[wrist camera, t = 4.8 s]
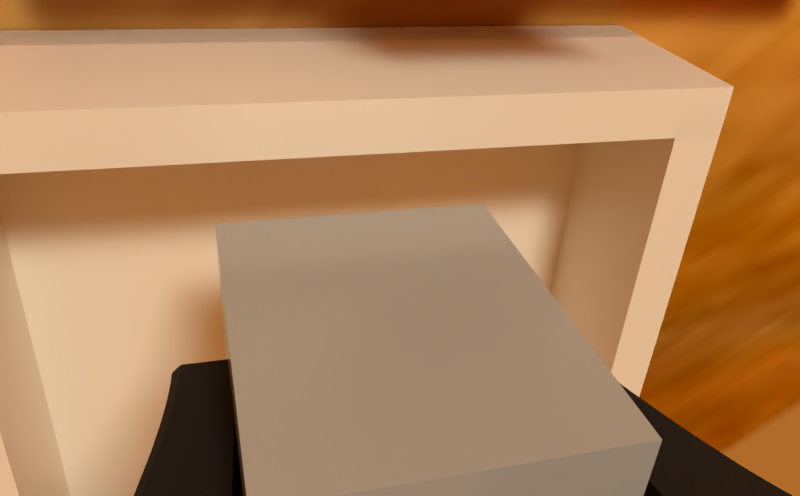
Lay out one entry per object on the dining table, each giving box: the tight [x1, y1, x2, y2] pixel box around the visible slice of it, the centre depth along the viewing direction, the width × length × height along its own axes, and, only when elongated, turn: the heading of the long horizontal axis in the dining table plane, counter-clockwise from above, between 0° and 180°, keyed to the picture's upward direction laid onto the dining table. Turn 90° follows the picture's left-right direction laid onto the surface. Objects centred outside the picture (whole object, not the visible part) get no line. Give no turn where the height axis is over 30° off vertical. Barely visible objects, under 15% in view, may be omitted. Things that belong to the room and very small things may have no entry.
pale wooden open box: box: [0, 25, 734, 496], centre depth 14 cm, size 12×12×4 cm
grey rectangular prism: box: [215, 204, 662, 496], centre depth 9 cm, size 4×4×4 cm
